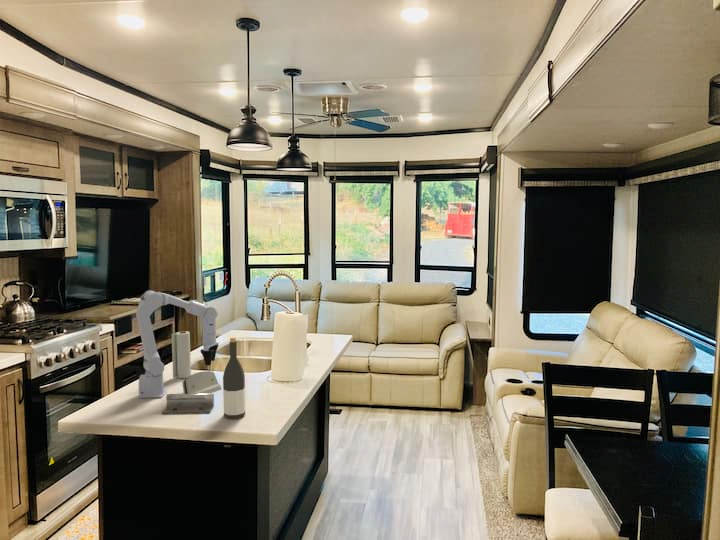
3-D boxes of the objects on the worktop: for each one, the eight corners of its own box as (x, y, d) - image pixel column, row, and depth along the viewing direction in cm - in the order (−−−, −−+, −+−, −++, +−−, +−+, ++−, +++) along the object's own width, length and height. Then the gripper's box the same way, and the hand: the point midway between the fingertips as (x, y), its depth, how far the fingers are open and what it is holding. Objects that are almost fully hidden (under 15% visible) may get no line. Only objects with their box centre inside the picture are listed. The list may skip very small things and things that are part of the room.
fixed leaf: (162, 414, 210) (161, 400, 209) (168, 406, 218) (168, 393, 217) (209, 413, 211) (209, 399, 210) (214, 405, 219) (213, 392, 218)
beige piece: (192, 399, 226) (186, 376, 227) (185, 401, 229) (178, 378, 229) (222, 389, 240) (216, 366, 241) (215, 390, 243) (209, 369, 244)
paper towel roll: (193, 375, 261) (191, 331, 259) (187, 378, 255) (186, 333, 253) (178, 374, 262) (177, 330, 260) (173, 378, 256) (171, 333, 254)
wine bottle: (225, 420, 203) (223, 341, 200) (222, 413, 210) (220, 336, 207) (247, 417, 206) (246, 339, 203) (243, 410, 214) (241, 334, 211)
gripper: (214, 336, 237) (215, 367, 238) (221, 329, 252) (222, 358, 253) (198, 336, 237) (199, 367, 238) (206, 329, 251) (207, 358, 253)
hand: (210, 362), depth 245 cm, fingers open, 7 cm apart
